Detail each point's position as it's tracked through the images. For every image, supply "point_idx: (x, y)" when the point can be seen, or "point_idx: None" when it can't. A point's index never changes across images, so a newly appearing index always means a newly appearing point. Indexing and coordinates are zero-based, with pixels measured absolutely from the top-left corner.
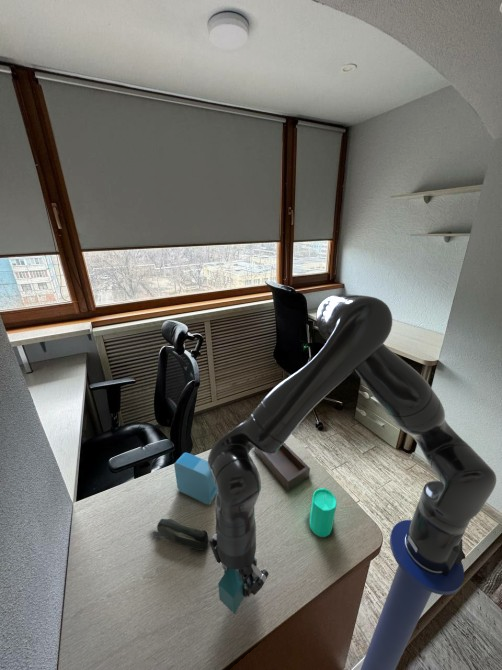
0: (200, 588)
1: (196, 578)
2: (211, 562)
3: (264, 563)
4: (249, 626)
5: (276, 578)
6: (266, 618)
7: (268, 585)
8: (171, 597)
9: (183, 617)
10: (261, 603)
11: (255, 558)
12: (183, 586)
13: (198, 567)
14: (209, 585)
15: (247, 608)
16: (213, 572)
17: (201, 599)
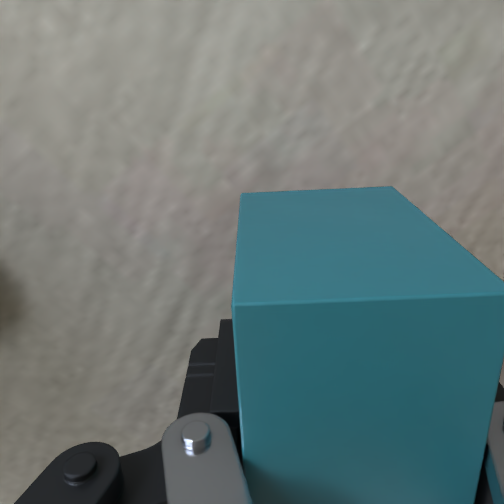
0: (108, 377)
1: (52, 363)
2: (44, 261)
3: (346, 16)
4: None
5: (474, 42)
6: (496, 257)
7: (439, 119)
8: (35, 471)
9: None
10: (440, 223)
11: (493, 296)
12: (35, 420)
13: (11, 326)
14: (134, 342)
15: None
16: (99, 289)
17: (151, 400)
